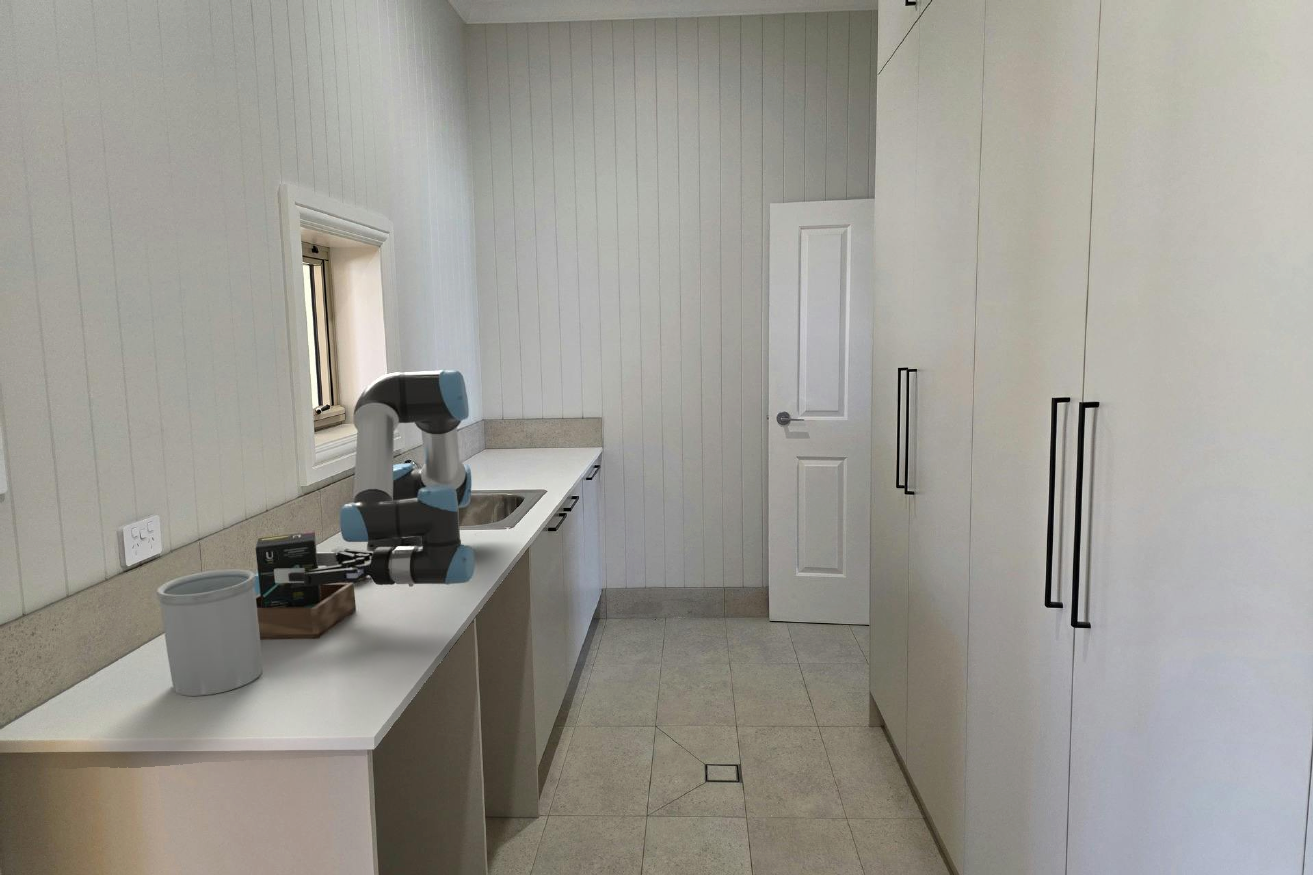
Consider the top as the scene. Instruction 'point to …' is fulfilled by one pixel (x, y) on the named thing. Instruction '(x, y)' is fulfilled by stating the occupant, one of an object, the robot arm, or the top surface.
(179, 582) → the utensil holder
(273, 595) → the tampon box
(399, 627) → the top surface
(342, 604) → the box
